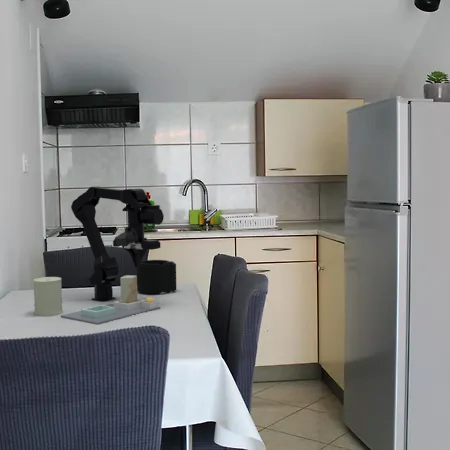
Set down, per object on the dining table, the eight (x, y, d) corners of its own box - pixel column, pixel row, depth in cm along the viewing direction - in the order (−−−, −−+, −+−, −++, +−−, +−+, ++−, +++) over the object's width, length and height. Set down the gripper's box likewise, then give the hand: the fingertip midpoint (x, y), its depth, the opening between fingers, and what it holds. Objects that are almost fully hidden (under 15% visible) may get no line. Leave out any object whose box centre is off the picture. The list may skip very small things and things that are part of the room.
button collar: (141, 307, 209) (141, 301, 209) (149, 305, 212) (149, 299, 212) (150, 309, 207) (150, 303, 206) (158, 306, 210) (158, 301, 210)
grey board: (60, 317, 199) (60, 309, 198) (124, 302, 221) (123, 295, 221) (97, 324, 188) (97, 316, 188) (160, 308, 210) (160, 301, 210)
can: (37, 317, 200) (35, 280, 199) (32, 311, 208) (30, 276, 207) (65, 314, 204) (64, 278, 203) (59, 308, 212) (58, 274, 211)
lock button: (145, 306, 209) (144, 297, 209) (150, 305, 211) (149, 296, 211) (150, 307, 208) (149, 298, 208) (155, 305, 210) (154, 297, 210)
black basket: (154, 287, 252) (153, 258, 251) (182, 290, 243) (181, 261, 242) (129, 292, 240) (128, 262, 239) (158, 296, 231) (157, 265, 230)
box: (132, 309, 208) (131, 277, 207) (120, 309, 209) (119, 277, 208) (137, 306, 213) (137, 275, 212) (126, 306, 214) (125, 274, 213)
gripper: (100, 224, 216) (102, 268, 218) (138, 226, 205) (139, 272, 206) (123, 222, 225) (125, 264, 227) (161, 224, 214) (162, 268, 215)
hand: (136, 267), depth 218 cm, fingers closed
